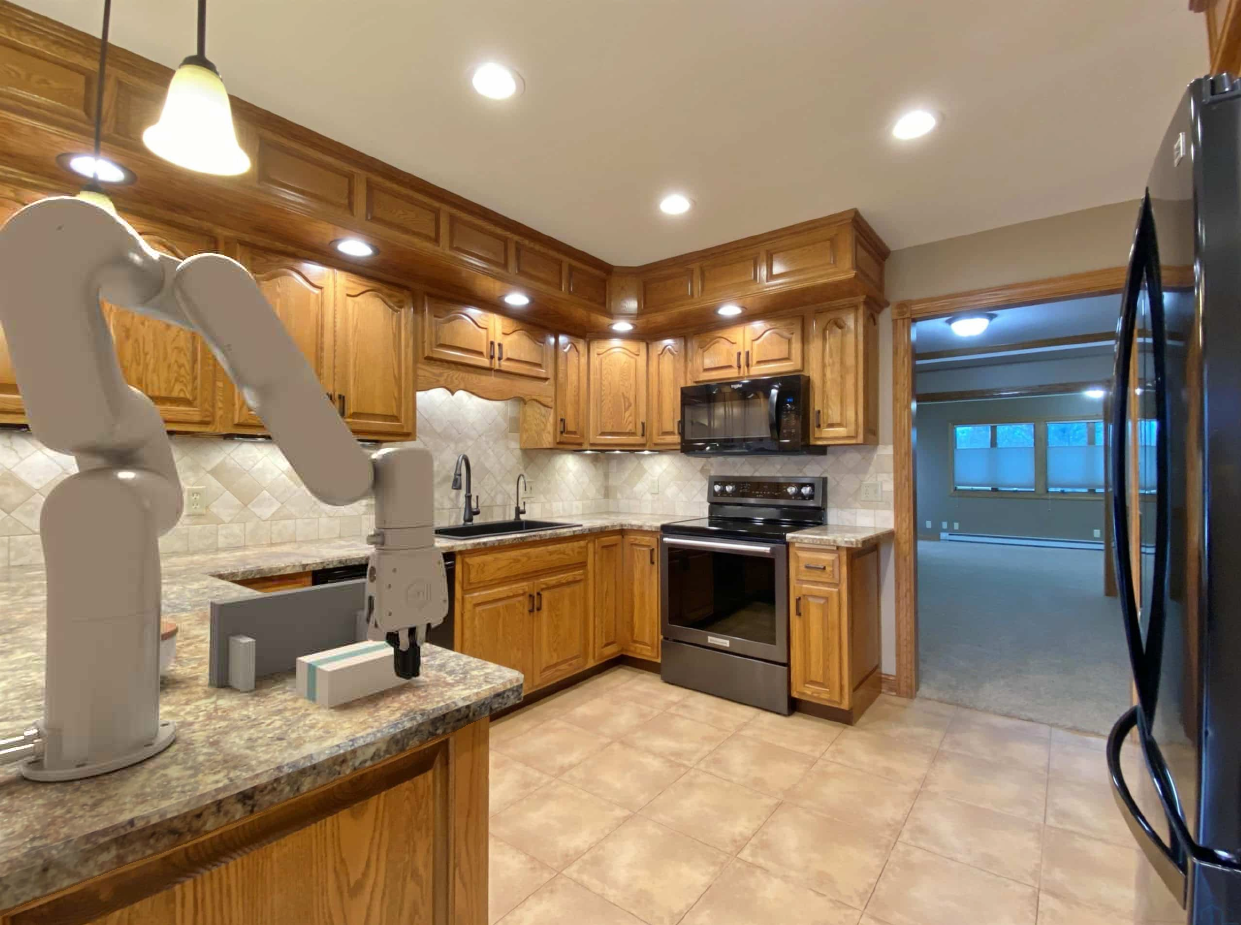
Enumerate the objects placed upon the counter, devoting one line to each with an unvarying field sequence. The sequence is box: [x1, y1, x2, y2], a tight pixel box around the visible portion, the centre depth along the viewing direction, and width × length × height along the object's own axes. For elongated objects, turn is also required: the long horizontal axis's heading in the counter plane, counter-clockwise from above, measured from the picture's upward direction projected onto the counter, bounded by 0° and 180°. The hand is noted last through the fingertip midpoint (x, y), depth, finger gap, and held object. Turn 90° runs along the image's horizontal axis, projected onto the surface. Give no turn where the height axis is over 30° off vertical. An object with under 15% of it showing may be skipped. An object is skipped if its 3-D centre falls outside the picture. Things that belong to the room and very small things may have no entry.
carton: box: [295, 640, 409, 709], centre depth 83 cm, size 12×9×5 cm
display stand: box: [208, 578, 369, 693], centre depth 92 cm, size 24×8×12 cm, turn 144°
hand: (407, 675), depth 77 cm, fingers closed
